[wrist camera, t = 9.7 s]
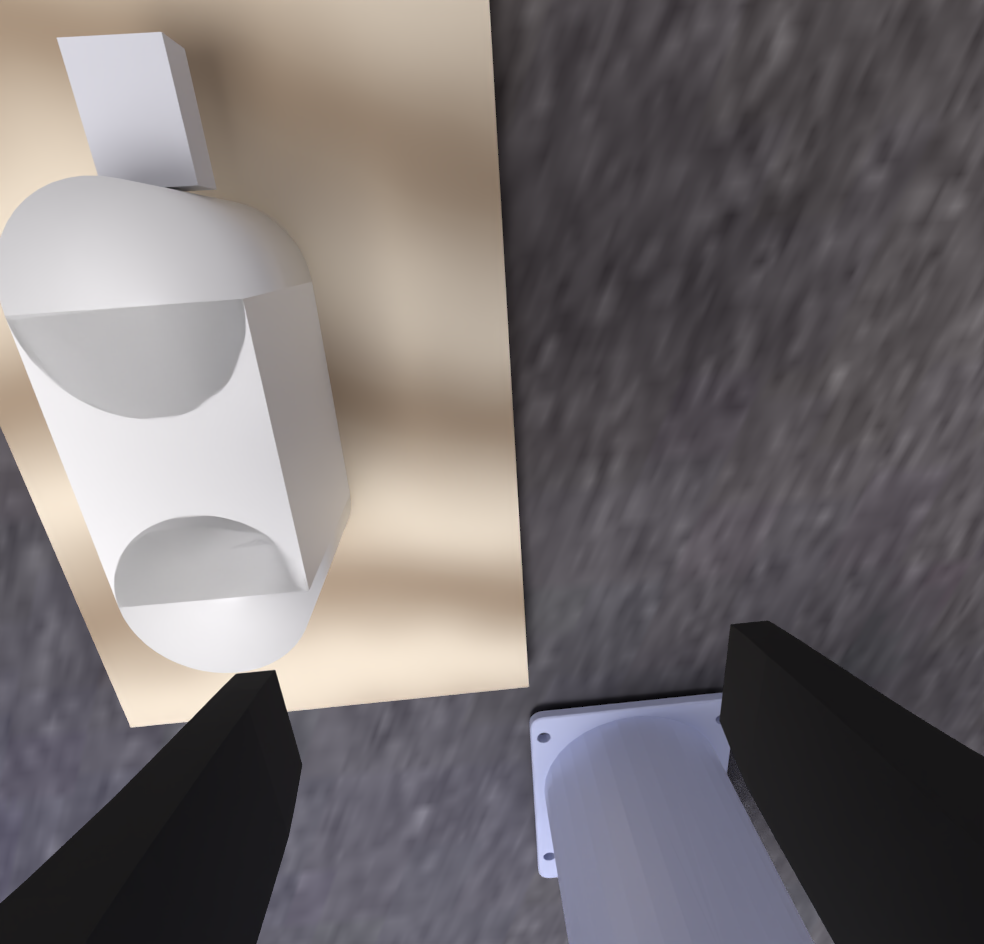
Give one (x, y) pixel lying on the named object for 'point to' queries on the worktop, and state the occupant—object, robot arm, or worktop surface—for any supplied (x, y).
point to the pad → (327, 321)
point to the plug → (178, 370)
